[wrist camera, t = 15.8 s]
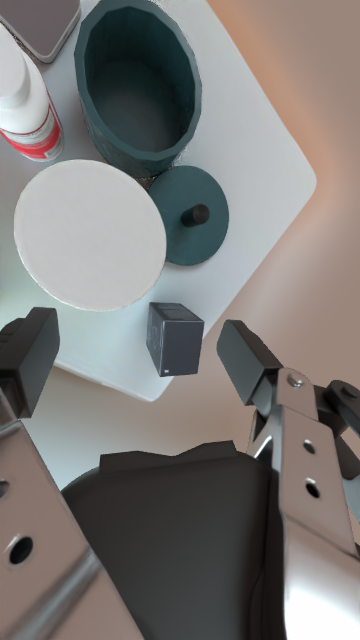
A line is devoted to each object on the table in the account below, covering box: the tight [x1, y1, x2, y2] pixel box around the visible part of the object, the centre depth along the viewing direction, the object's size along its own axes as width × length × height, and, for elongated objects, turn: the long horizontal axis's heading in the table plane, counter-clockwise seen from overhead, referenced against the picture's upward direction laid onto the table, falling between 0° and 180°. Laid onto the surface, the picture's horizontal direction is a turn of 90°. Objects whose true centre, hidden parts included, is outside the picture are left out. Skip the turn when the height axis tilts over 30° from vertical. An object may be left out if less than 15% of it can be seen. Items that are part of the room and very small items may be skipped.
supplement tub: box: [14, 159, 166, 311], centre depth 23 cm, size 12×12×17 cm
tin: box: [74, 0, 202, 178], centre depth 24 cm, size 13×13×6 cm
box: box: [147, 302, 205, 377], centre depth 32 cm, size 8×6×11 cm
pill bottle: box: [0, 23, 64, 162], centre depth 20 cm, size 6×6×11 cm
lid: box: [147, 166, 229, 266], centre depth 30 cm, size 14×14×6 cm
